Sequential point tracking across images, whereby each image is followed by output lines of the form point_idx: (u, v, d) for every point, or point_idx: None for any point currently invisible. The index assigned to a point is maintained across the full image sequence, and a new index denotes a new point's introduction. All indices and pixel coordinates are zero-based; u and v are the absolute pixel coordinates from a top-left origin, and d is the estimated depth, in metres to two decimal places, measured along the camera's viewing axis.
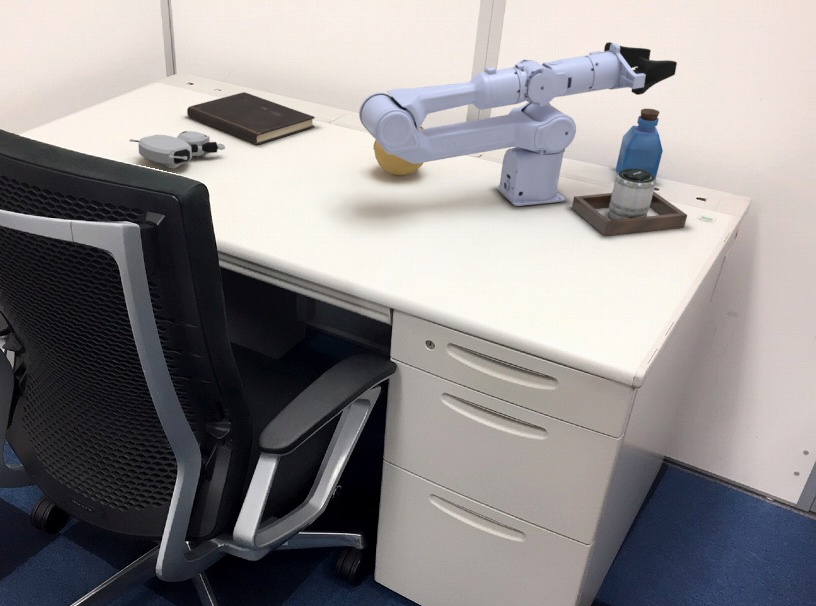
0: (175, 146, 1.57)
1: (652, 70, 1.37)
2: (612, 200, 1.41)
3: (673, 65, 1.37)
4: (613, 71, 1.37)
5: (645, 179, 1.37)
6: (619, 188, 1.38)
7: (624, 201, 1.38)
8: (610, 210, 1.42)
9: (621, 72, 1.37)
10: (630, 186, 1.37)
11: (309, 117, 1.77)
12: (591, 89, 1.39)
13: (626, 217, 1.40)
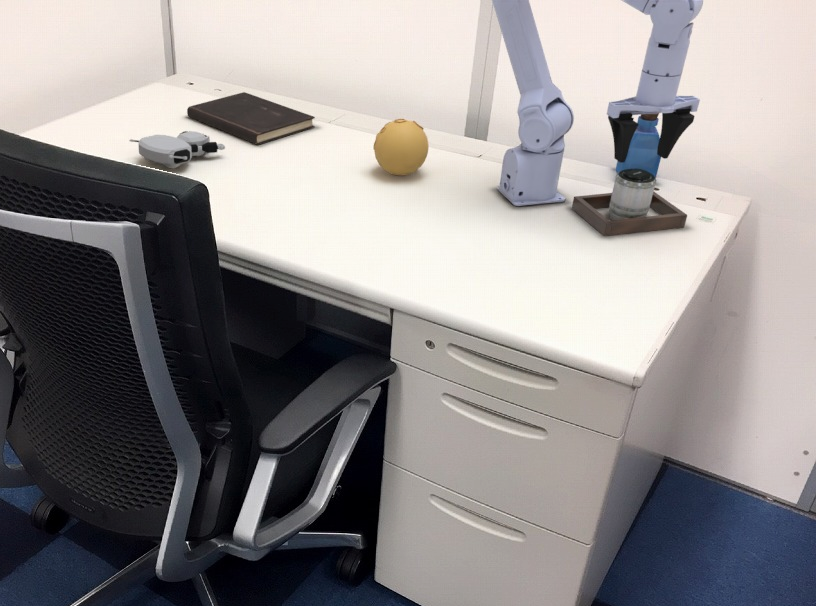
0: (175, 146, 1.57)
1: None
2: (612, 200, 1.41)
3: (619, 157, 1.35)
4: (642, 96, 1.30)
5: (645, 179, 1.37)
6: (619, 188, 1.38)
7: (624, 201, 1.38)
8: (610, 210, 1.42)
9: (638, 104, 1.30)
10: (630, 186, 1.37)
11: (309, 117, 1.77)
12: None
13: (626, 217, 1.40)
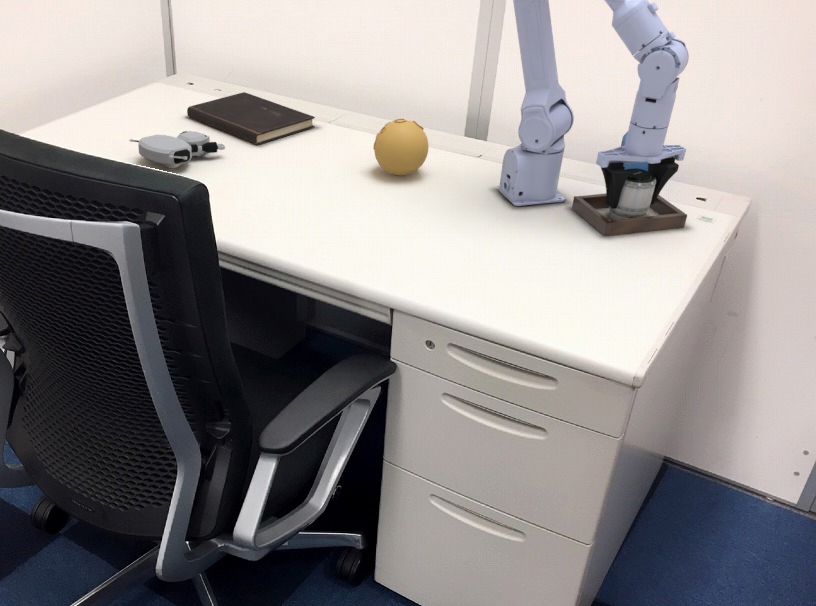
0: (175, 146, 1.57)
1: None
2: None
3: (611, 204, 1.40)
4: (630, 146, 1.34)
5: (645, 179, 1.37)
6: None
7: (625, 201, 1.38)
8: (610, 210, 1.42)
9: (626, 154, 1.35)
10: (630, 186, 1.37)
11: (309, 117, 1.77)
12: None
13: (626, 217, 1.40)
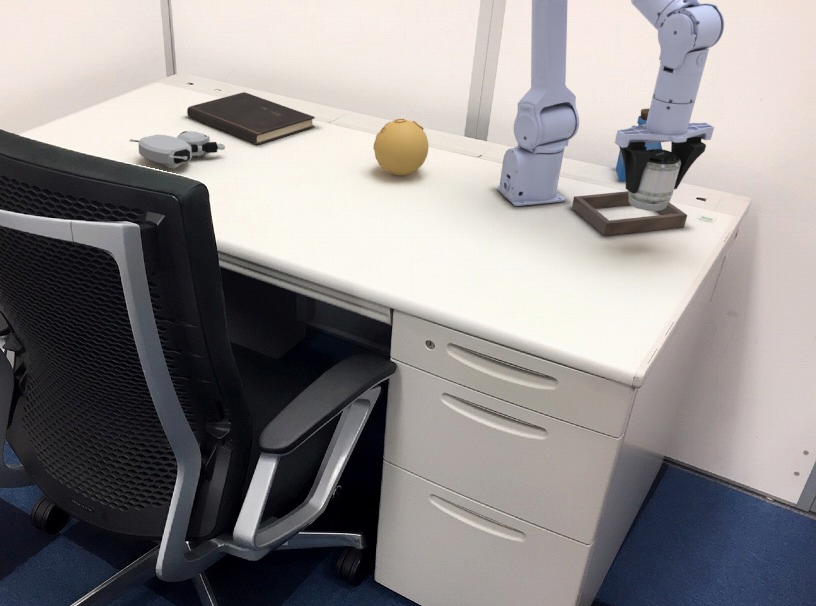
0: (175, 146, 1.57)
1: None
2: None
3: (631, 188, 1.27)
4: (653, 123, 1.21)
5: (669, 160, 1.24)
6: None
7: (646, 185, 1.25)
8: (630, 195, 1.29)
9: (648, 132, 1.22)
10: (652, 168, 1.24)
11: (309, 117, 1.77)
12: (652, 96, 1.22)
13: (648, 203, 1.27)
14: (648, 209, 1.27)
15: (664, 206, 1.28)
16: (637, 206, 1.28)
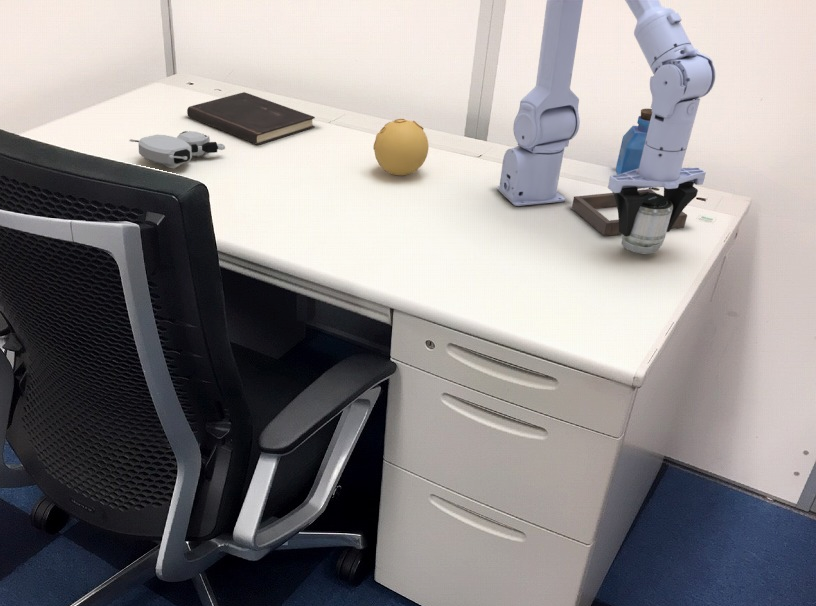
0: (175, 146, 1.57)
1: None
2: None
3: (624, 231, 1.28)
4: (645, 170, 1.23)
5: (661, 205, 1.26)
6: None
7: (639, 228, 1.27)
8: (623, 238, 1.31)
9: (640, 178, 1.24)
10: (645, 213, 1.25)
11: (309, 117, 1.77)
12: (645, 142, 1.23)
13: (640, 246, 1.28)
14: (641, 252, 1.29)
15: (657, 249, 1.29)
16: (630, 249, 1.30)
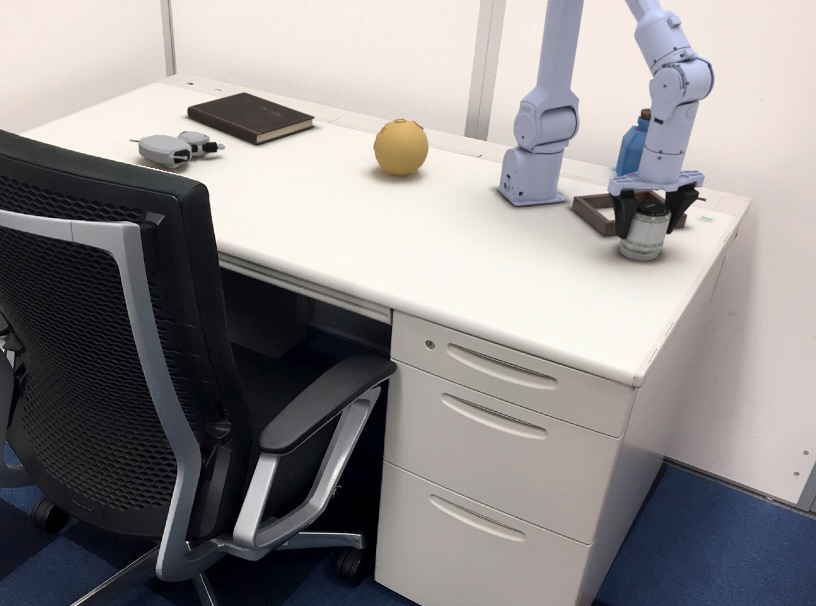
0: (175, 146, 1.57)
1: None
2: None
3: (620, 234, 1.29)
4: (644, 172, 1.23)
5: (659, 212, 1.26)
6: None
7: (637, 236, 1.28)
8: (621, 245, 1.31)
9: (640, 180, 1.24)
10: (643, 220, 1.26)
11: (309, 117, 1.77)
12: (644, 145, 1.24)
13: (638, 253, 1.29)
14: (639, 259, 1.30)
15: (655, 256, 1.30)
16: (628, 256, 1.30)
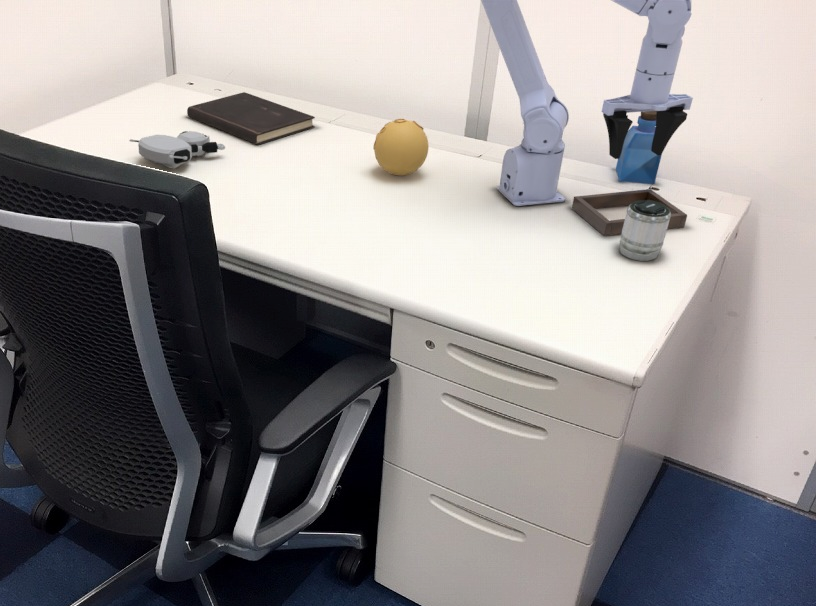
0: (175, 146, 1.57)
1: None
2: (623, 234, 1.30)
3: (614, 154, 1.39)
4: (636, 94, 1.33)
5: (659, 212, 1.26)
6: (631, 221, 1.28)
7: (637, 236, 1.28)
8: (621, 245, 1.31)
9: (632, 102, 1.34)
10: (643, 220, 1.26)
11: (309, 117, 1.77)
12: (636, 68, 1.34)
13: (638, 253, 1.29)
14: (639, 259, 1.30)
15: (655, 256, 1.30)
16: (628, 256, 1.30)
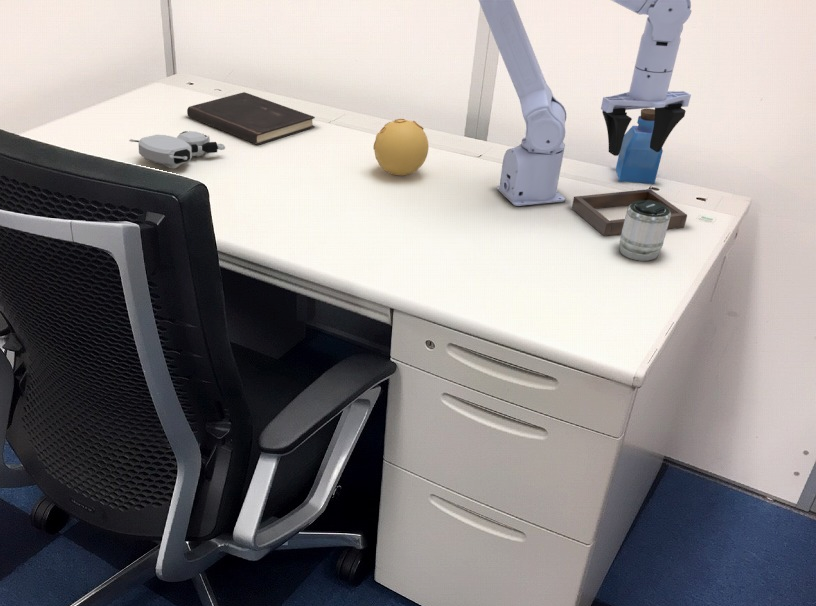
0: (175, 146, 1.57)
1: None
2: (623, 234, 1.30)
3: (613, 151, 1.40)
4: (635, 91, 1.34)
5: (659, 212, 1.26)
6: (631, 221, 1.28)
7: (637, 236, 1.28)
8: (621, 245, 1.31)
9: (631, 99, 1.35)
10: (643, 220, 1.26)
11: (309, 117, 1.77)
12: (635, 66, 1.35)
13: (638, 253, 1.29)
14: (639, 259, 1.30)
15: (655, 256, 1.30)
16: (628, 256, 1.30)
